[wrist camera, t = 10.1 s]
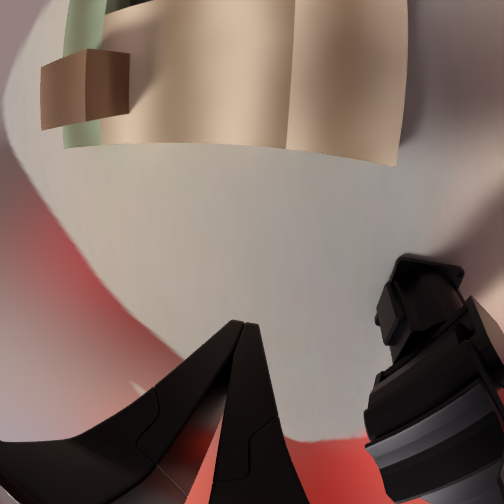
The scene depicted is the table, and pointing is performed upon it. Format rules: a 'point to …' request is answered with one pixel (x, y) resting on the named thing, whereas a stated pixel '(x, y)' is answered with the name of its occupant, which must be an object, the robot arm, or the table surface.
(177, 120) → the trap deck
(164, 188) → the table surface
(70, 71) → the walnut block
